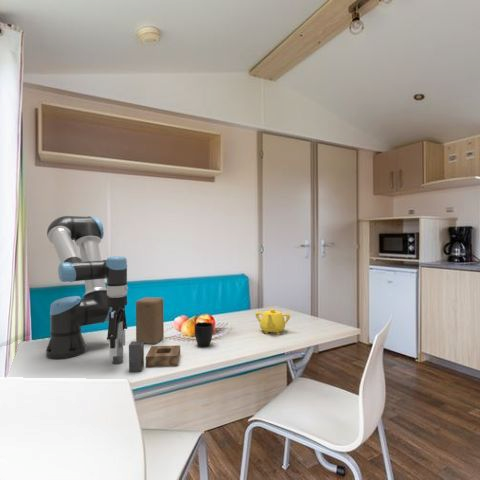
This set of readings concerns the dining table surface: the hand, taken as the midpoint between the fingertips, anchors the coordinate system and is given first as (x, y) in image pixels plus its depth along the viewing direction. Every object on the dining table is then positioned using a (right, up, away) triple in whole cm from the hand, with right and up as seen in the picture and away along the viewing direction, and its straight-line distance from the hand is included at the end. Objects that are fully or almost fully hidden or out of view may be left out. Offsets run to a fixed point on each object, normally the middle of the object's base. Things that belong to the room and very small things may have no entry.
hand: (117, 350), depth 133 cm
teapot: (+65, -4, +39) cm, 76 cm away
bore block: (+18, -5, +2) cm, 19 cm away
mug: (+31, -4, +22) cm, 38 cm away
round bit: (0, -5, 0) cm, 5 cm away
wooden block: (+6, -4, +27) cm, 28 cm away
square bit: (+10, -5, -7) cm, 13 cm away
